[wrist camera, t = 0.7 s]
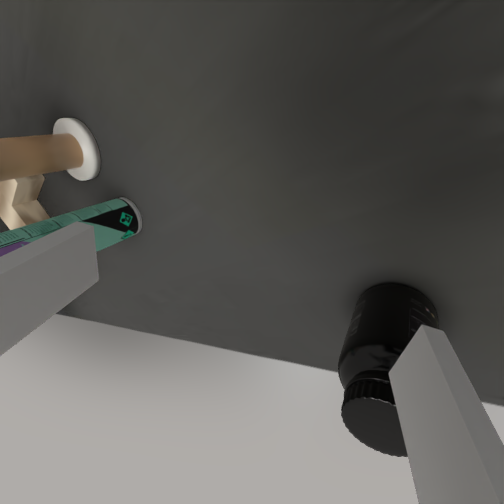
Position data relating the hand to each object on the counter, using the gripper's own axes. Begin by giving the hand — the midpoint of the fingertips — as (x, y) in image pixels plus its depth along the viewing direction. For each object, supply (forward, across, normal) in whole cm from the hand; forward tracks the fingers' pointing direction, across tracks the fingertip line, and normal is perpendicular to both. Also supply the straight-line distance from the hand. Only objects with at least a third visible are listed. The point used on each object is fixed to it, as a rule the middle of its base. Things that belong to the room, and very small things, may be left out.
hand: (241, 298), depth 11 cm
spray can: (+24, -21, -11) cm, 34 cm away
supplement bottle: (+14, +13, -8) cm, 21 cm away
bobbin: (+26, -30, -4) cm, 39 cm away
